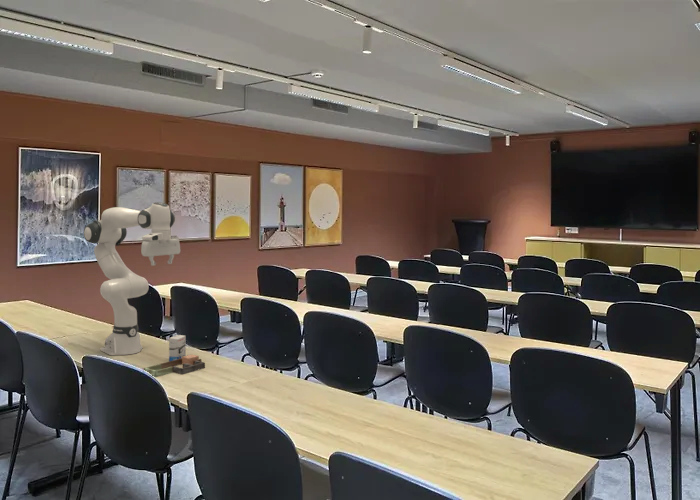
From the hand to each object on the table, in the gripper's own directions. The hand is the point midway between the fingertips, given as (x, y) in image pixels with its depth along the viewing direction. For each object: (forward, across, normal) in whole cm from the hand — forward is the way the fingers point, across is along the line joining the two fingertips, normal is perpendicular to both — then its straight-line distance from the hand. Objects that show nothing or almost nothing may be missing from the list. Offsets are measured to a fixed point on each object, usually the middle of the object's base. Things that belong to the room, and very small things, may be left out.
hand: (161, 264), depth 282 cm
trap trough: (+48, +5, +17) cm, 51 cm away
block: (+48, -5, +14) cm, 51 cm away
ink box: (+48, -6, +3) cm, 49 cm away
